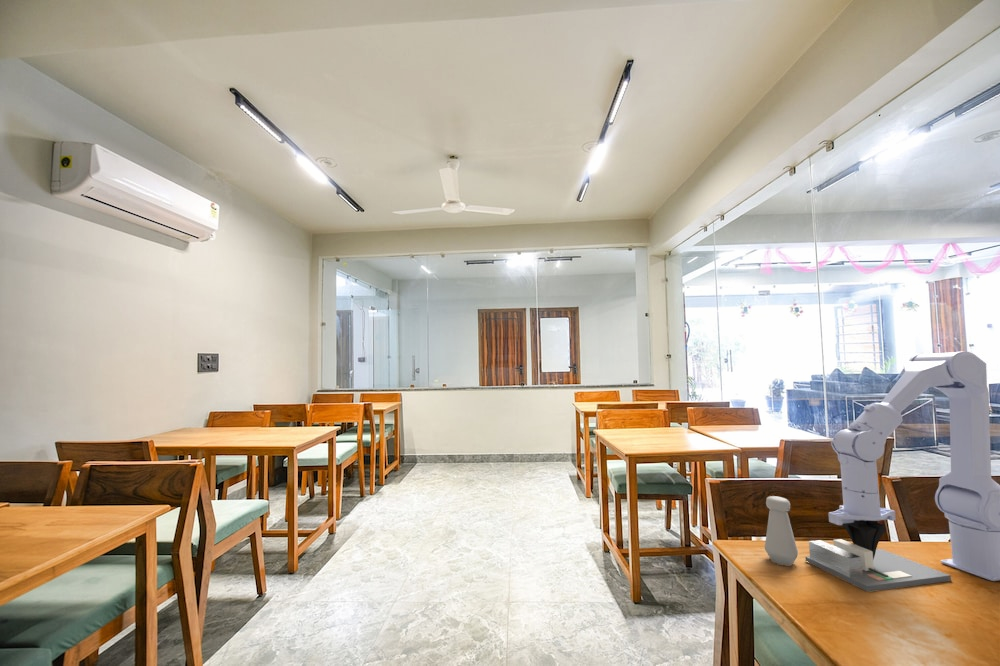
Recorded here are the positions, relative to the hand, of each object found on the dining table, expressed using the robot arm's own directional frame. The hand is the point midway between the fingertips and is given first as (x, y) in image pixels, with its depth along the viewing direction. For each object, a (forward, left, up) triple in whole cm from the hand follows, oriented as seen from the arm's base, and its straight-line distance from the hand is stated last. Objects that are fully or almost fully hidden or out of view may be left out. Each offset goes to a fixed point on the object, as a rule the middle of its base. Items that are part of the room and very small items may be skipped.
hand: (865, 558), depth 82 cm
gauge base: (-1, +1, -2) cm, 2 cm away
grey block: (+8, 0, -2) cm, 8 cm away
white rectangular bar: (+3, +2, -1) cm, 4 cm away
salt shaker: (+14, -6, -2) cm, 16 cm away
